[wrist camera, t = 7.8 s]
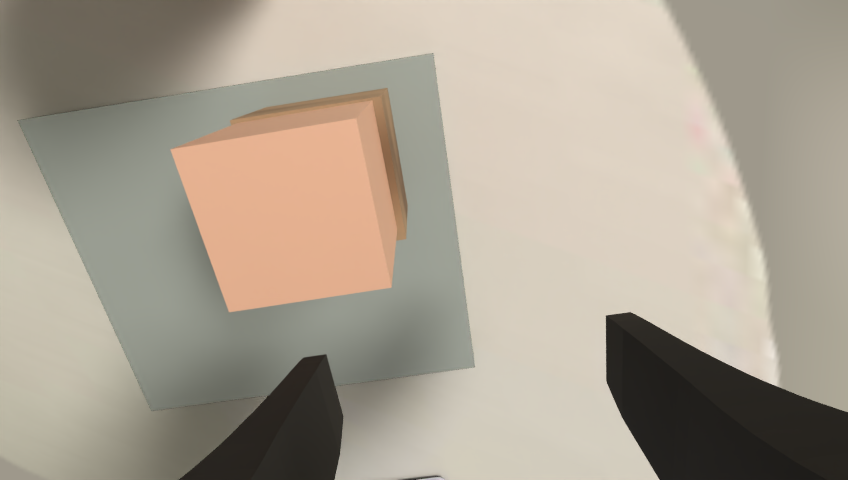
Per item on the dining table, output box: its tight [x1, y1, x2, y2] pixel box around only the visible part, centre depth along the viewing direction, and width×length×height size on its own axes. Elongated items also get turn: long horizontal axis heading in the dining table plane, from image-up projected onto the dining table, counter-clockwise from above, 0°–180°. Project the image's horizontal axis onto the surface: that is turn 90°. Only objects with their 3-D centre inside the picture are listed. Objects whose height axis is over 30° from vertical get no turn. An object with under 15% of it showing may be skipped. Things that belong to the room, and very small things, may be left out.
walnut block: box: [230, 88, 408, 241], centre depth 18 cm, size 5×5×4 cm
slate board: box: [18, 53, 475, 411], centre depth 22 cm, size 15×17×1 cm
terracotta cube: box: [170, 100, 397, 312], centre depth 14 cm, size 4×4×4 cm
